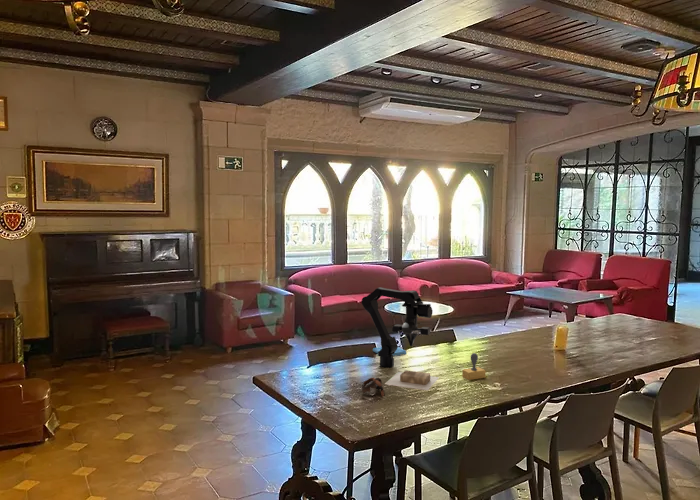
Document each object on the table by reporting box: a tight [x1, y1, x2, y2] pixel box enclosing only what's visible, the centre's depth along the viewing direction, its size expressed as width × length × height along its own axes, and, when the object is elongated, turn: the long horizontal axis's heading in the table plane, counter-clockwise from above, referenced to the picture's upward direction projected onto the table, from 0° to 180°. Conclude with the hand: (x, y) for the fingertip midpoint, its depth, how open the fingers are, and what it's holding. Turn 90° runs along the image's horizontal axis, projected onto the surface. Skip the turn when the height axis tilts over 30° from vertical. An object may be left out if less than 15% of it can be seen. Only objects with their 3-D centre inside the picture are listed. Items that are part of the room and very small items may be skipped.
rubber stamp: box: [461, 352, 487, 381], centre depth 258 cm, size 10×6×12 cm, turn 112°
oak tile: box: [400, 370, 431, 385], centre depth 251 cm, size 3×8×12 cm
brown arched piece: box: [360, 377, 385, 398], centre depth 236 cm, size 12×10×8 cm
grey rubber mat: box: [384, 371, 440, 391], centre depth 252 cm, size 21×20×1 cm
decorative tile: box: [372, 346, 407, 357], centre depth 302 cm, size 14×14×2 cm
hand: (411, 346), depth 266 cm, fingers closed
